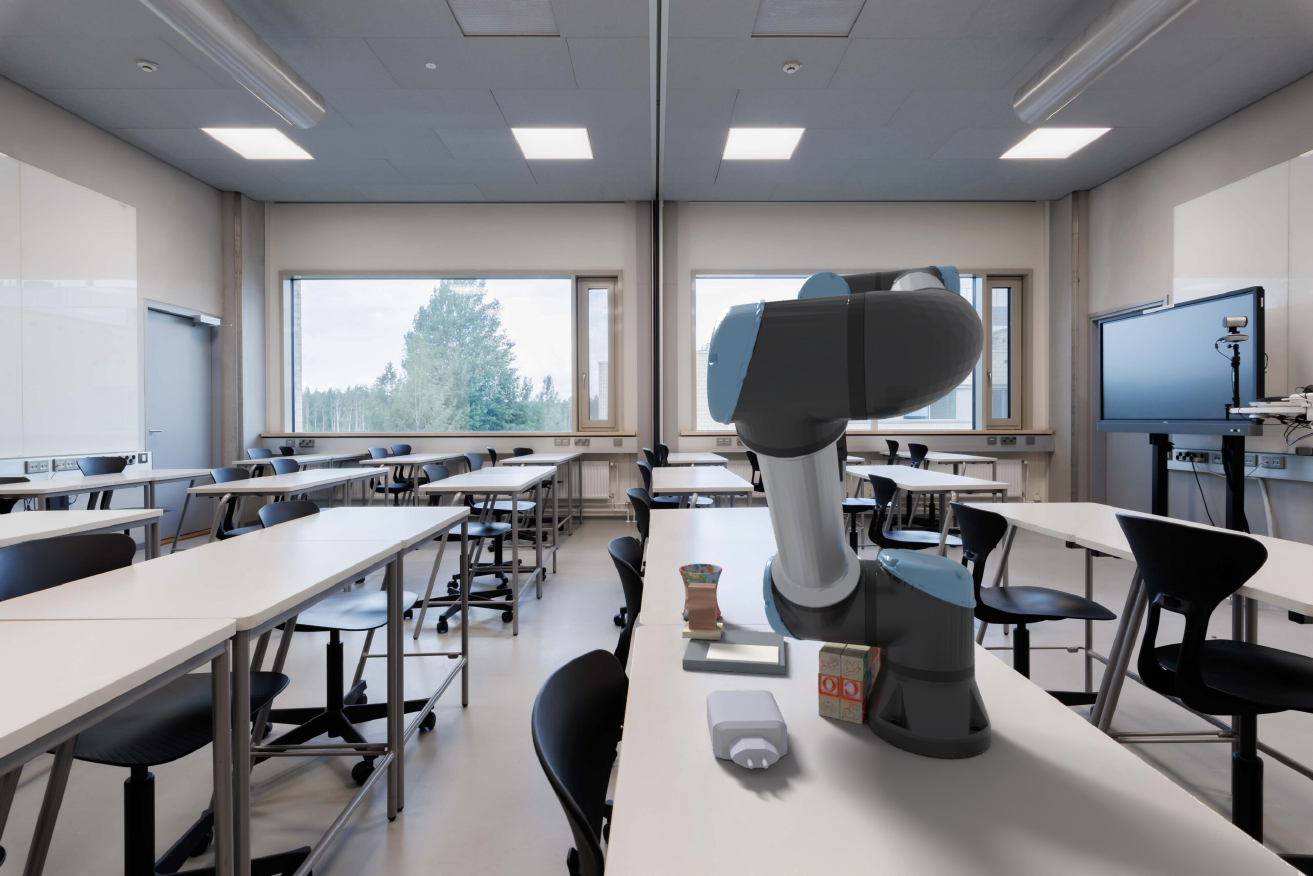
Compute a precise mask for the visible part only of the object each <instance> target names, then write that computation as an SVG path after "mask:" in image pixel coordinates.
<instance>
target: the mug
mask: <svg viewBox="0 0 1313 876" xmlns="http://www.w3.org/2000/svg"><path fill="white" fill-rule="evenodd" d="M678 571H679V573H680V575H681V578H682V582H683V586H684V593H685V597H684V599H685V600H684V605H683V608H682V610H681V615H682V616H683V618H685V619H687V620H689V608H688V586H689V584H690V583H712V584H716V594H717V592H718V585H719V579H720V577H721V574H722V572H723V568H722V566H719V565H716V564H712V563H690V564H685V565H681V566H680V567H679V568H678ZM717 595H718V594H717ZM718 603H719V602H717V619H718V618H720V617H721V615H722V611H721V610H720V606H719V604H718Z"/></svg>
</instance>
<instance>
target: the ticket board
mask: <svg viewBox="0 0 1313 876" xmlns="http://www.w3.org/2000/svg"><path fill="white" fill-rule="evenodd" d="M784 637H785V636H781V635H779V634H777V633H776V632H775V631H757V630H756V631H755V630H754V631H753V630H738V629H737V630H733V629H723V631H722V635H721V639H720V640H711V639H692V638H690V640H689V642H688V645H687V647H686V650H685V652H684V655H683V657H682V659H681V660H682V669H690V670H704V671H720V672H721V671H722V672H737V673H740V672H741V673H753V674H754V673H756V674H769V675H783V676H784V675H786V674H785V673H786V672H785V670H786V669H785V666H786V665H785V640H784V639H785V638H784Z"/></svg>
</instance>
